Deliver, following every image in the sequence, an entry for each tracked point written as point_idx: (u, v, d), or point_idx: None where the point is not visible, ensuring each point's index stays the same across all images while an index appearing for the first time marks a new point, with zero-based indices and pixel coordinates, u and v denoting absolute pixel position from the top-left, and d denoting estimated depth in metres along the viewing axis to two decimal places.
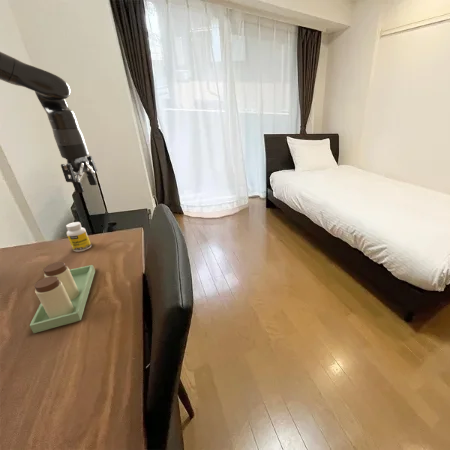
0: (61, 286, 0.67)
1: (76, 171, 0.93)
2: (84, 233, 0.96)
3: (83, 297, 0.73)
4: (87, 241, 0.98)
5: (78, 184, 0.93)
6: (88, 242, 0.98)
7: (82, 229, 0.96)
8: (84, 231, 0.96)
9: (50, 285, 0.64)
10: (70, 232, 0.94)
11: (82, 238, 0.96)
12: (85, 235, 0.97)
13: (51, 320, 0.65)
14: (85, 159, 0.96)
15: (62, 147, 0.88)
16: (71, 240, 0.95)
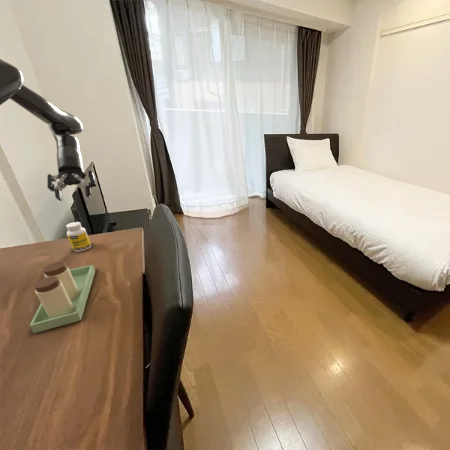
0: (61, 286, 0.67)
1: None
2: (84, 233, 0.96)
3: (83, 297, 0.73)
4: (87, 241, 0.98)
5: None
6: (88, 242, 0.98)
7: (82, 229, 0.96)
8: (84, 231, 0.96)
9: (50, 285, 0.64)
10: (70, 232, 0.94)
11: (82, 237, 0.96)
12: (85, 235, 0.97)
13: (51, 320, 0.65)
14: None
15: (80, 161, 1.06)
16: (71, 240, 0.95)
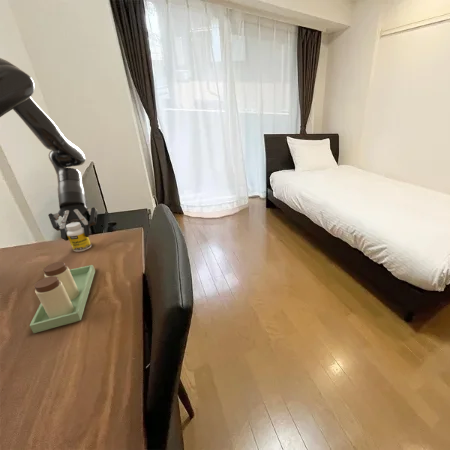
0: (61, 286, 0.67)
1: None
2: None
3: (83, 297, 0.73)
4: (87, 241, 0.98)
5: None
6: (88, 242, 0.98)
7: (82, 229, 0.96)
8: None
9: (50, 285, 0.64)
10: (70, 232, 0.94)
11: (82, 238, 0.96)
12: None
13: (51, 320, 0.65)
14: None
15: (83, 195, 1.00)
16: (71, 240, 0.94)
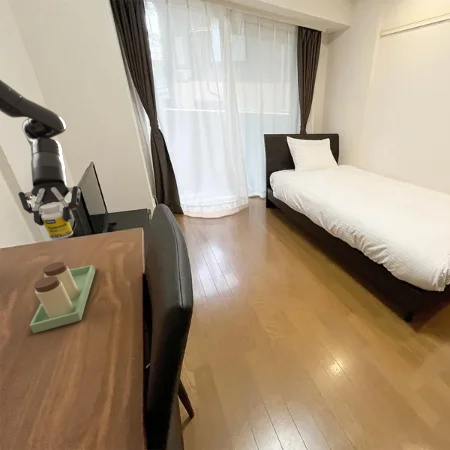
0: (61, 286, 0.67)
1: (62, 197, 0.80)
2: (63, 217, 0.79)
3: (83, 297, 0.73)
4: (67, 227, 0.80)
5: None
6: (69, 228, 0.81)
7: (61, 212, 0.78)
8: None
9: (50, 285, 0.64)
10: (45, 215, 0.76)
11: (61, 222, 0.78)
12: None
13: (51, 320, 0.65)
14: None
15: (63, 171, 0.82)
16: (47, 225, 0.77)
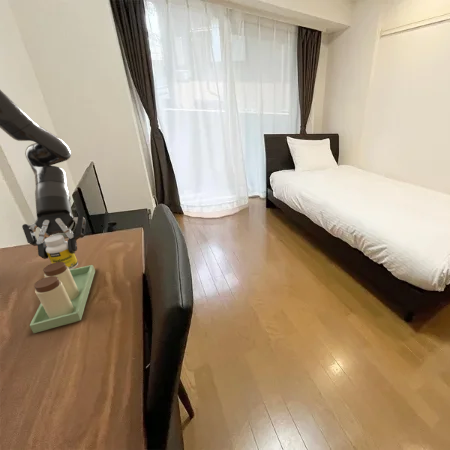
0: (61, 286, 0.67)
1: (67, 228, 0.78)
2: (68, 249, 0.76)
3: (83, 297, 0.73)
4: (73, 259, 0.77)
5: None
6: (74, 260, 0.78)
7: (66, 244, 0.76)
8: None
9: (50, 285, 0.64)
10: (50, 248, 0.73)
11: (66, 255, 0.75)
12: None
13: (51, 320, 0.65)
14: None
15: (67, 200, 0.79)
16: (51, 258, 0.74)
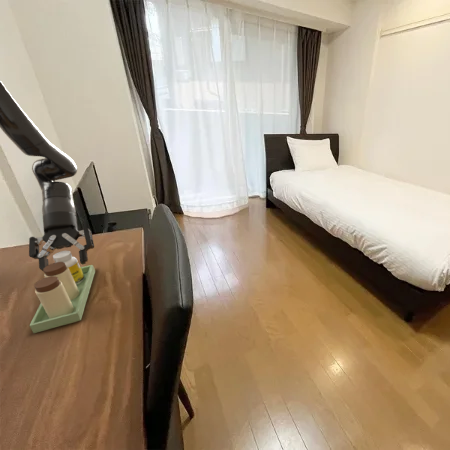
0: (61, 286, 0.67)
1: None
2: (75, 264, 0.78)
3: (83, 297, 0.73)
4: (79, 273, 0.80)
5: None
6: (81, 274, 0.80)
7: (73, 259, 0.78)
8: (75, 262, 0.78)
9: (50, 285, 0.64)
10: None
11: (73, 270, 0.78)
12: (77, 267, 0.79)
13: (51, 320, 0.65)
14: None
15: (73, 215, 0.82)
16: None
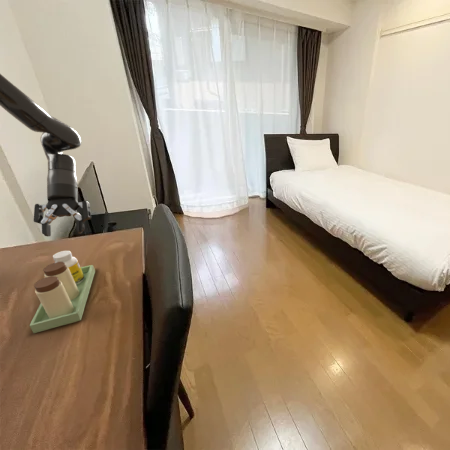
0: (61, 286, 0.67)
1: None
2: (75, 264, 0.78)
3: (83, 297, 0.73)
4: (79, 273, 0.80)
5: None
6: (81, 274, 0.80)
7: (73, 259, 0.78)
8: (75, 262, 0.78)
9: (50, 285, 0.64)
10: None
11: (73, 270, 0.78)
12: (77, 266, 0.79)
13: (51, 320, 0.65)
14: None
15: (74, 187, 0.89)
16: None
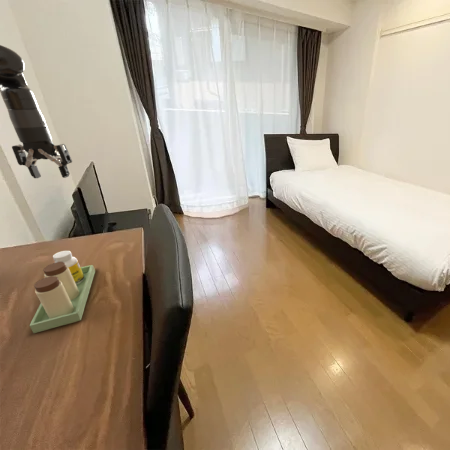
0: (61, 286, 0.67)
1: (52, 155, 0.86)
2: (75, 264, 0.78)
3: (83, 297, 0.73)
4: (79, 273, 0.80)
5: None
6: (81, 274, 0.80)
7: (73, 259, 0.78)
8: (75, 262, 0.78)
9: (50, 285, 0.64)
10: None
11: (73, 270, 0.78)
12: (77, 266, 0.79)
13: (51, 320, 0.65)
14: None
15: (43, 128, 0.82)
16: None
